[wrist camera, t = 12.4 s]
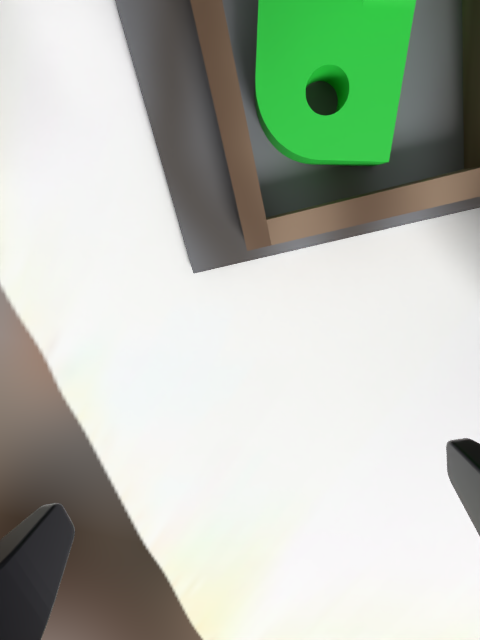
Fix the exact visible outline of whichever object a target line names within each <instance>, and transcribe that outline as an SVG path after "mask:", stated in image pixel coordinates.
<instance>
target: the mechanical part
mask: <svg viewBox="0 0 480 640" xmlns="http://www.w3.org/2000/svg"><path fill="white" fill-rule="evenodd" d="M415 4H416V0H258V25H257V51H256V76H255V104H256V111H257V116H258V119H259V122H260V125H261V128H262V130H263V132H264V134H265V135H266V137H267V138H268V140H269V141H270V143H271V144H272V145H273V146H274V147H275V148H276V149H277V150H278V151H279V152H280V153H282V154H283V155H284V156H286V157H288V158H290V159H292V160H294V161H297V162H300V163H304V164H314V165H347V166H376V165H380V164H383V163H387V162H389V158H390V152H391V146H392V140H393V134H394V128H395V122H396V116H397V110H398V105H399V99H400V93H401V87H402V81H403V75H404V69H405V63H406V57H407V51H408V45H409V39H410V33H411V27H412V21H413V15H414V9H415ZM316 81H324V82H327V83H329V84H330V85H331V86H332V87H333V88H334V89H335V91H336V93H337V97H338V105H337V109H336V112H335V113H334V114H332V115H327V116H324V115H319V114H317V113H315V112H314V111H313V110H312V109H311V108H310V107H309V105H308V103H307V100H306V87H307V86H308V85H310V84H311V83H313V82H316Z"/></svg>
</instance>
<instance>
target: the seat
mask: <svg viewBox="0 0 480 640" xmlns="http://www.w3.org/2000/svg"><path fill="white" fill-rule="evenodd" d="M115 1H116V5H117V8H118V12H119V15H120V19H121V22H122V26H123V29H124V33H125V36H126V40H127V43H128V47H129V50H130V54H131V57H132V61H133V64H134V68H135V71H136V75H137V78H138V81H139V85H140V88H141V92H142V95H143V99H144V102H145V106H146V109H147V113H148V116H149V120H150V123H151V127H152V130H153V134H154V137H155V141H156V144H157V148H158V151H159V155H160V158H161V162H162V165H163V169H164V172H165V176H166V179H167V183H168V186H169V190H170V193H171V197H172V200H173V203H174V207H175V210H176V214H177V217H178V221H179V224H180V228H181V231H182V235H183V238H184V242H185V245H186V249H187V252H188V256H189V259H190V263H191V266H192V270H193V273H198V272H202V271H206V270H211V269H215V268H219V267H224V266H228V265H232V264H237V263H241V262H245V261H250V260H254V259H258V258H263V257H267V256H271V255H275V254H280V253H284V252H288V251H293V250H297V249H301V248H306V247H310V246H314V245H319V244H323V243H327V242H332V241H336V240H340V239H345V238H349V237H353V236H358V235H362V234H366V233H371V232H375V231H379V230H384V229H388V228H392V227H397V226H401V225H405V224H409V223H414V222H418V221H422V220H427V219H431V218H435V217H440V216H444V215H448V214H453V213H457V212H461V211H466V210H470V209H474V208H479V207H480V0H416V4H415V9H414V15H413V21H412V27H411V33H410V39H409V45H408V51H407V57H406V63H405V69H404V75H403V81H402V87H401V93H400V99H399V105H398V110H397V116H396V122H395V128H394V134H393V140H392V146H391V152H390V158H389V162H387V163H383V164H380V165H376V166H347V165H314V164H304V163H300V162H297V161H294V160H292V159H290V158H288V157H286V156H284V155H283V154H282V153H280V152H279V151H278V150H277V149H276V148H275V147H274V146H273V145H272V144H271V143H270V141H269V140H268V138H267V137H266V135H265V134H264V132H263V130H262V128H261V125H260V122H259V119H258V116H257V111H256V104H255V76H256V51H257V25H258V0H115ZM306 100H307V103H308V105H309V107H310V108H311V109H312V110H313V111H314V112H315V113H317V114H319V115H324V116H327V115H332V114H334V113H335V112H336V109H337V105H338V97H337V93H336V91H335V89H334V88H333V87H332V86H331V85H330V84H329V83H327V82H324V81H316V82H313V83H311V84H310V85H308V86H307V87H306Z"/></svg>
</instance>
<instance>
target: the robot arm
mask: <svg viewBox="0 0 480 640" xmlns="http://www.w3.org/2000/svg"><path fill="white" fill-rule="evenodd" d="M446 450H447V472H448V476H449V479H450V481H451V483H452V485H453V487H454V489H455V491H456V493H457V495H458V496H459V498H460V500H461V502H462V504H463V506H464V508H465V510H466V511H467V513H468V515H469V517H470V519H471V521H472V523H473V525H474V526H475V528H476V530H477V532H478V534H479V536H480V444H479V443H477V442H475V441H473V440H471V439H468V438H463V439H457V440H451V441H449V442H448V443H447V446H446ZM74 533H75V529H74V526H73V523H72V521H71V520H70V518H69V516H68V514H67V513H66V510H65V509H64V507H63V506H62V505H61V504H60V503H54V504H47V505H43V506H41V507H40V508H38V509H37V510H36V511H35V512H34V513H32V514H31V515H30V516H29V517H28V518H26V519H25V520H24V521H22V522H21V523H20V524H19V525H18V526H16V527H15V528H14V529H13V530H11V531H10V532H9V533H8V534H6V535H5V536H4V537H3V538H2V539H0V640H41V638H42V636H43V633H44V631H45V628H46V625H47V623H48V620H49V617H50V614H51V612H52V608H53V605H54V602H55V599H56V596H57V593H58V589H59V586H60V582H61V579H62V576H63V572H64V569H65V566H66V562H67V559H68V556H69V553H70V549H71V546H72V543H73V539H74Z"/></svg>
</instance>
